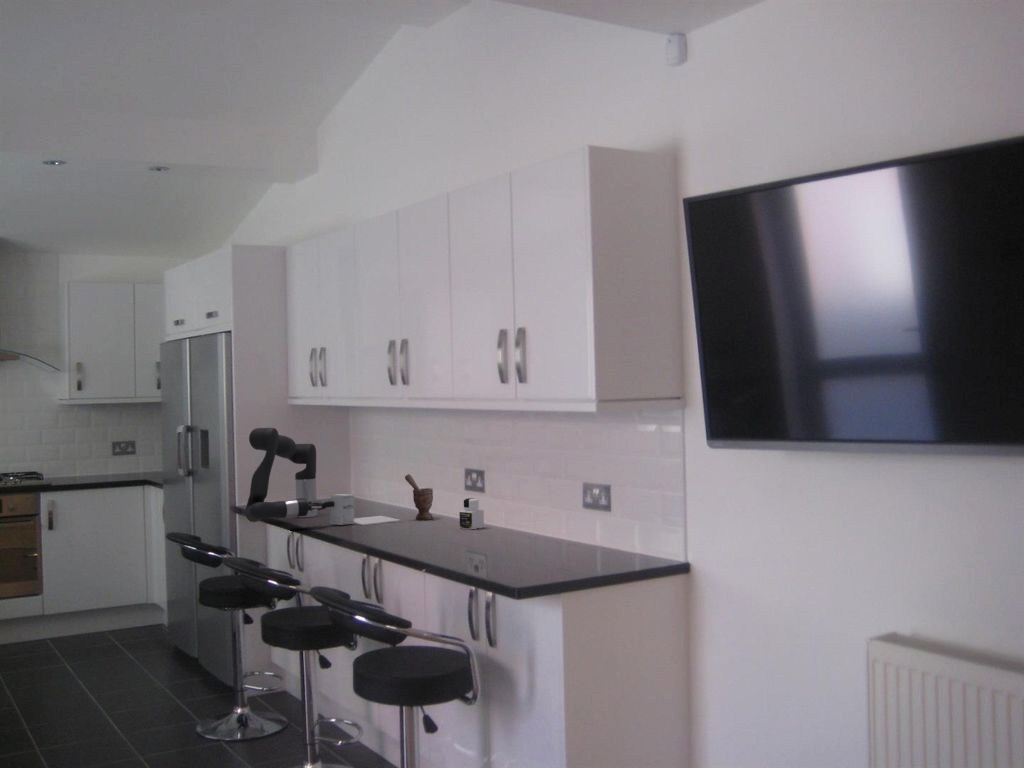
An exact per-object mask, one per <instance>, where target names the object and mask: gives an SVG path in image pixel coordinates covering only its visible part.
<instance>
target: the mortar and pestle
mask: <svg viewBox="0 0 1024 768" xmlns="http://www.w3.org/2000/svg"><path fill="white" fill-rule="evenodd" d="M404 479H405V480H406V482H407V483H408V484H409V485H410V486H411V487H412V489H413V490H412V493H413V494H412V495H413V503H414V507H415V508H416V509H417V510H418V513H417V514H416V517H415V519H416V520H417V521H425V520H434V517H433V514H432V513H430V509H431V508H432V505H433V500H434V494H433V493H434V489H433V488H431V487H428V488H427V487H426V488H420V487H419V486H418V484H417V482H416V481H415V479H414V478H413V476H412V475H411V474H409V473H408V474H406V475H405V477H404Z"/></svg>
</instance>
